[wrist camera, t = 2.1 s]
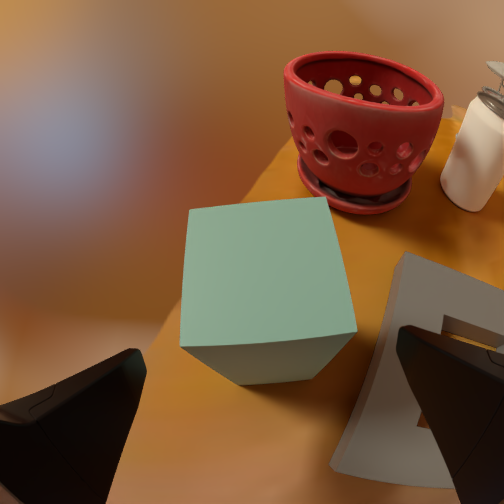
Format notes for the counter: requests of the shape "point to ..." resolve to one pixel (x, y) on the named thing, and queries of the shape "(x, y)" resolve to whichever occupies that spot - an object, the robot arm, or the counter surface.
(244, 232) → the plug block
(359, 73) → the plant pot
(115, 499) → the counter surface
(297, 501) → the counter surface
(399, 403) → the socket plate
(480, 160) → the can
